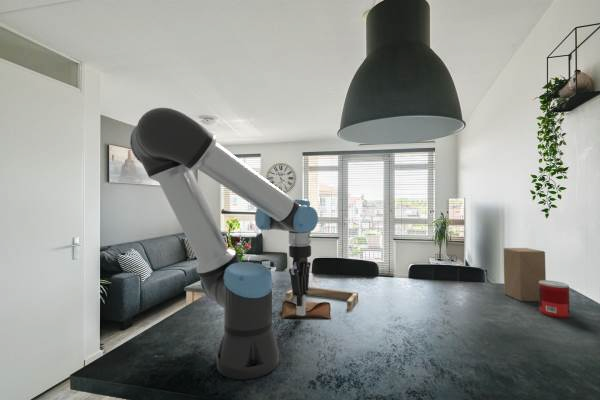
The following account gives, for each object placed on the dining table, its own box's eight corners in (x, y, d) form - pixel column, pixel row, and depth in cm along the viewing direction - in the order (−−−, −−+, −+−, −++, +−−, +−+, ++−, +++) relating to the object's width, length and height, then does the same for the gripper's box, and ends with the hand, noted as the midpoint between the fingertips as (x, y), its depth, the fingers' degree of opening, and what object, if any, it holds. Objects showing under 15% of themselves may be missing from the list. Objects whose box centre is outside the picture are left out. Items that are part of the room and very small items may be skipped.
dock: (350, 309, 105) (350, 301, 106) (285, 300, 117) (285, 292, 117) (358, 300, 116) (358, 292, 116) (297, 292, 127) (297, 285, 128)
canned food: (575, 319, 96) (574, 286, 96) (548, 317, 97) (547, 285, 98) (559, 311, 103) (559, 280, 104) (534, 309, 105) (534, 279, 105)
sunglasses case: (279, 318, 97) (280, 298, 101) (281, 322, 103) (282, 302, 107) (332, 319, 97) (331, 298, 100) (331, 322, 103) (330, 303, 106)
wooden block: (546, 301, 113) (545, 251, 114) (521, 301, 114) (520, 251, 114) (527, 294, 123) (526, 247, 124) (503, 294, 124) (502, 247, 124)
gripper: (302, 248, 90) (303, 323, 89) (317, 242, 101) (318, 309, 101) (281, 246, 93) (282, 320, 92) (298, 241, 105) (299, 306, 104)
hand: (301, 314), depth 97 cm, fingers closed
